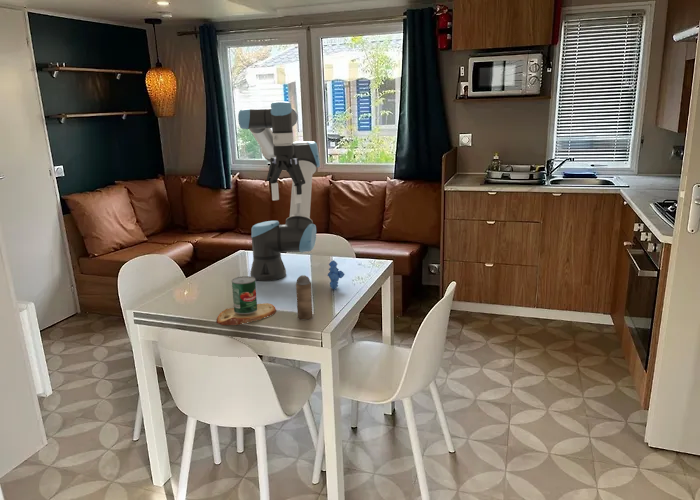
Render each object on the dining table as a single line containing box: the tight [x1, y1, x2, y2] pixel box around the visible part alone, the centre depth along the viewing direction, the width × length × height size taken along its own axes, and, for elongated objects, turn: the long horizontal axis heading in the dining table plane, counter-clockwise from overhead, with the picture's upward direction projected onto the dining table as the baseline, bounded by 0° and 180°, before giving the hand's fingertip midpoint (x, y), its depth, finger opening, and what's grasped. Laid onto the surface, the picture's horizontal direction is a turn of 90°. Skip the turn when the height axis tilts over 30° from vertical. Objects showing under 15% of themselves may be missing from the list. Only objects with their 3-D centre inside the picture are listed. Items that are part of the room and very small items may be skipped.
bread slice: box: [215, 302, 277, 326], centre depth 192 cm, size 18×18×4 cm
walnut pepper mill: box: [295, 274, 314, 320], centre depth 188 cm, size 5×5×15 cm
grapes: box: [327, 260, 345, 291], centre depth 217 cm, size 12×7×12 cm, turn 1°
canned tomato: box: [231, 275, 258, 314], centre depth 190 cm, size 8×8×11 cm
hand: (286, 201), depth 212 cm, fingers open, 13 cm apart
